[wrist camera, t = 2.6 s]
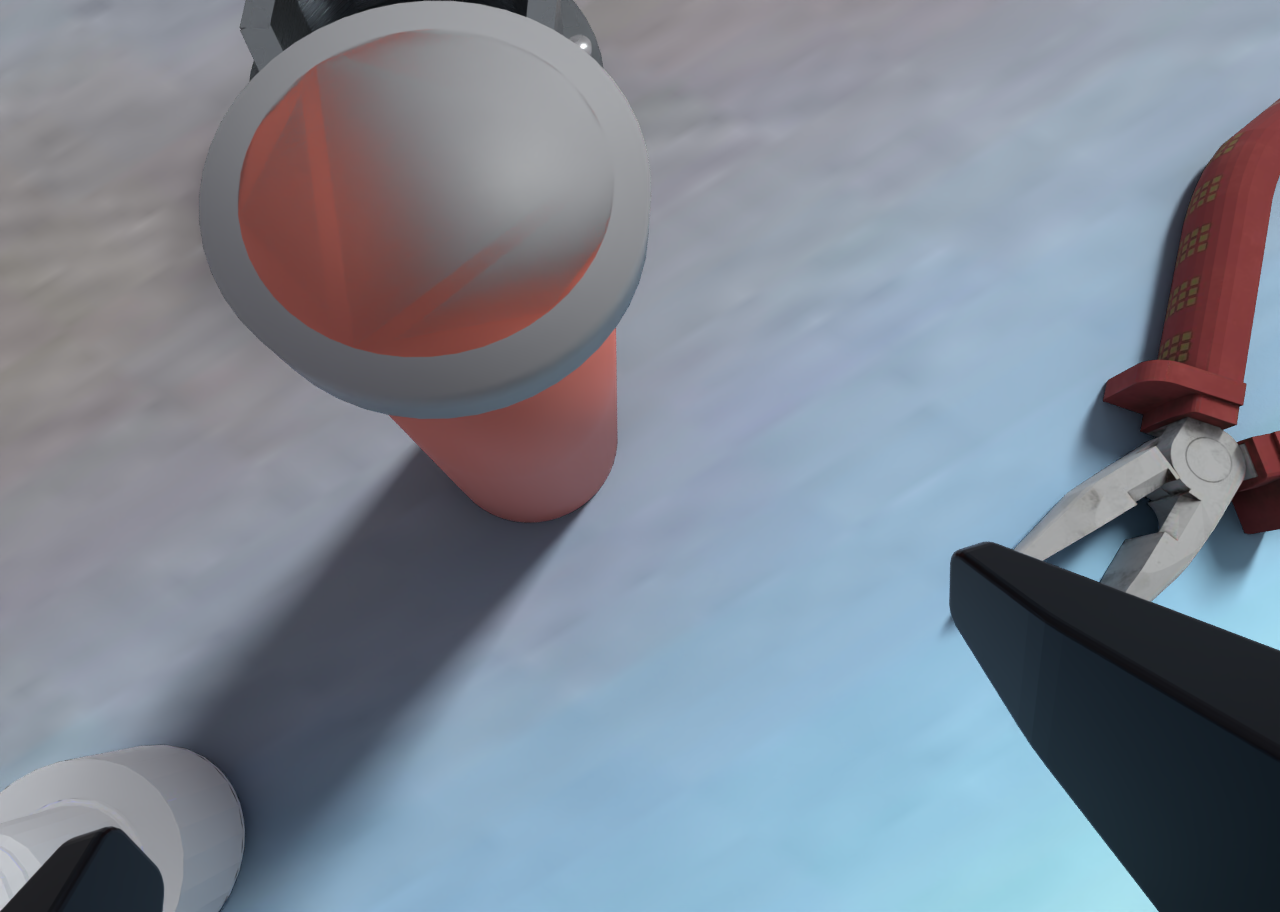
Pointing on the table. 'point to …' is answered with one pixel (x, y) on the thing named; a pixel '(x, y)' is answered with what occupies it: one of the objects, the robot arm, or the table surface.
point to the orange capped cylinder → (442, 238)
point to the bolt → (130, 819)
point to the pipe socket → (302, 3)
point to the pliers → (1191, 388)
